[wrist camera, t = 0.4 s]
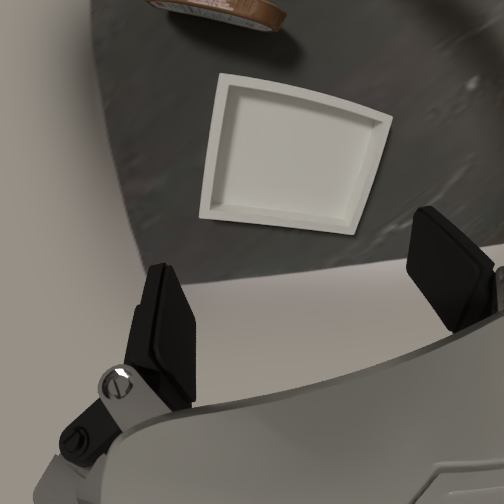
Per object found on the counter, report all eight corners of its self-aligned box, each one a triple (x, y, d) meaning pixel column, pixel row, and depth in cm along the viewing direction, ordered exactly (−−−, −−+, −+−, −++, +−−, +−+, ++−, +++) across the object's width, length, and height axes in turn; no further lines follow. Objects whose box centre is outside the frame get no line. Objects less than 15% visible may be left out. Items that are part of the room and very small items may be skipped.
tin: (279, 20, 26) (297, 5, 19) (270, 41, 28) (287, 31, 21) (158, -9, 22) (144, -29, 15) (150, 13, 24) (132, -3, 17)
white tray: (219, 73, 30) (219, 73, 27) (380, 112, 34) (392, 116, 31) (199, 207, 39) (199, 218, 37) (345, 224, 44) (353, 235, 41)
